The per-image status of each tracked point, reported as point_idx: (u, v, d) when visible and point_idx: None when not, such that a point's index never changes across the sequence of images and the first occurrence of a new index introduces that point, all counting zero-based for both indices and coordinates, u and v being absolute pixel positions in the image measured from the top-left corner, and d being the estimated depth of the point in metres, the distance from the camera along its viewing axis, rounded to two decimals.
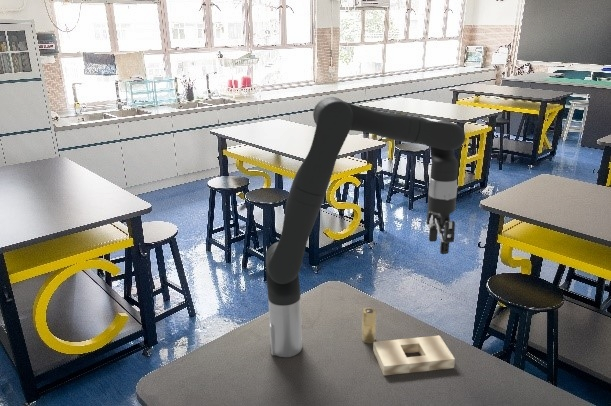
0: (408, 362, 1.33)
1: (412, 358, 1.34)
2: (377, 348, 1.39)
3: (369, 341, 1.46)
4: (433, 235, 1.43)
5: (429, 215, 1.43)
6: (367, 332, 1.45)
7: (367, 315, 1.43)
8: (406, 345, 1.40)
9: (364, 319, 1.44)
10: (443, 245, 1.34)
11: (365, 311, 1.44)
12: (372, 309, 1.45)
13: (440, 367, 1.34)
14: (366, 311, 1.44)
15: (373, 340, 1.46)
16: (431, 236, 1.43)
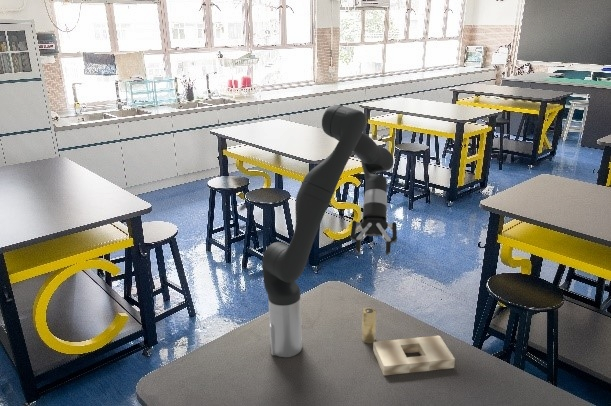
0: (408, 362, 1.33)
1: (412, 358, 1.34)
2: (377, 348, 1.39)
3: (369, 341, 1.46)
4: (360, 247, 1.52)
5: (355, 229, 1.54)
6: (367, 332, 1.45)
7: (367, 315, 1.43)
8: (406, 345, 1.40)
9: (364, 319, 1.44)
10: (390, 244, 1.50)
11: (365, 311, 1.44)
12: (372, 309, 1.45)
13: (440, 367, 1.34)
14: (366, 311, 1.44)
15: (373, 340, 1.46)
16: (360, 247, 1.51)
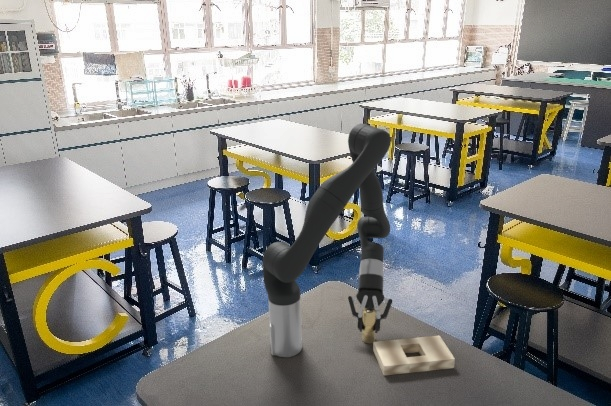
0: (408, 362, 1.33)
1: (412, 358, 1.34)
2: (377, 348, 1.39)
3: (369, 341, 1.46)
4: None
5: (353, 304, 1.48)
6: (367, 332, 1.45)
7: (367, 315, 1.43)
8: (406, 345, 1.40)
9: (364, 319, 1.44)
10: (379, 322, 1.45)
11: (365, 311, 1.44)
12: (372, 309, 1.45)
13: (440, 367, 1.34)
14: (366, 311, 1.44)
15: (373, 340, 1.46)
16: None
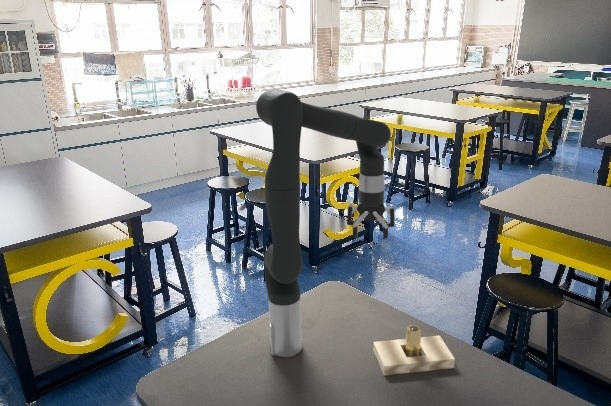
0: (408, 362, 1.33)
1: (412, 358, 1.34)
2: (377, 348, 1.39)
3: None
4: (357, 231, 1.50)
5: (351, 215, 1.47)
6: (412, 351, 1.36)
7: (412, 333, 1.34)
8: None
9: (409, 338, 1.35)
10: (387, 230, 1.47)
11: (410, 329, 1.35)
12: (417, 327, 1.36)
13: (440, 367, 1.34)
14: (410, 329, 1.35)
15: None
16: (357, 233, 1.49)
